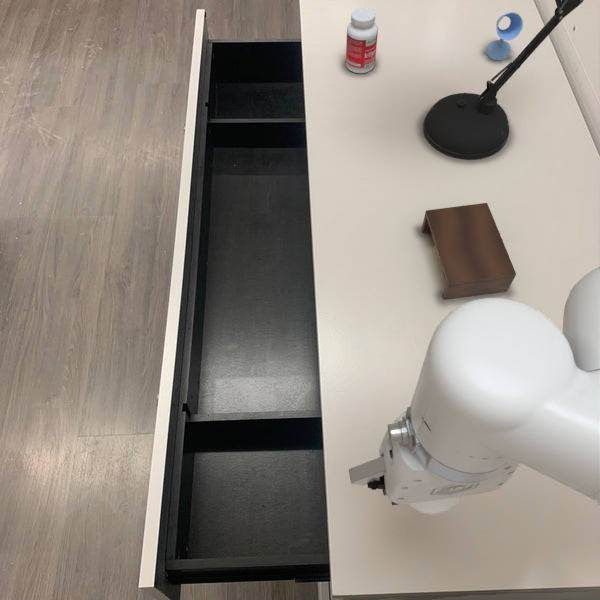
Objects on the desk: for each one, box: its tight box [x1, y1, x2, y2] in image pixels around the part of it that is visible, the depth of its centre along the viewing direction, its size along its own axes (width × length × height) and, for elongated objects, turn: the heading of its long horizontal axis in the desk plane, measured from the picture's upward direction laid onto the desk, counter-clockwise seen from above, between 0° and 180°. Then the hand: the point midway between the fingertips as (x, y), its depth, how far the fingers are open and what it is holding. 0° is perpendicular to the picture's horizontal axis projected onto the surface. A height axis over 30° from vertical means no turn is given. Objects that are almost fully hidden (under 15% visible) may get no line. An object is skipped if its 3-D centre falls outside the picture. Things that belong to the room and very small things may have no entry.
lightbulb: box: [407, 496, 462, 516], centre depth 53 cm, size 6×6×11 cm
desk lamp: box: [422, 0, 585, 160], centre depth 81 cm, size 24×26×45 cm
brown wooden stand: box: [421, 202, 517, 301], centre depth 83 cm, size 10×14×5 cm
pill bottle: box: [345, 7, 379, 74], centre depth 107 cm, size 6×6×11 cm
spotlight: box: [486, 11, 524, 61], centre depth 107 cm, size 5×10×7 cm
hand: (427, 483), depth 52 cm, fingers closed on lightbulb, 6 cm apart
